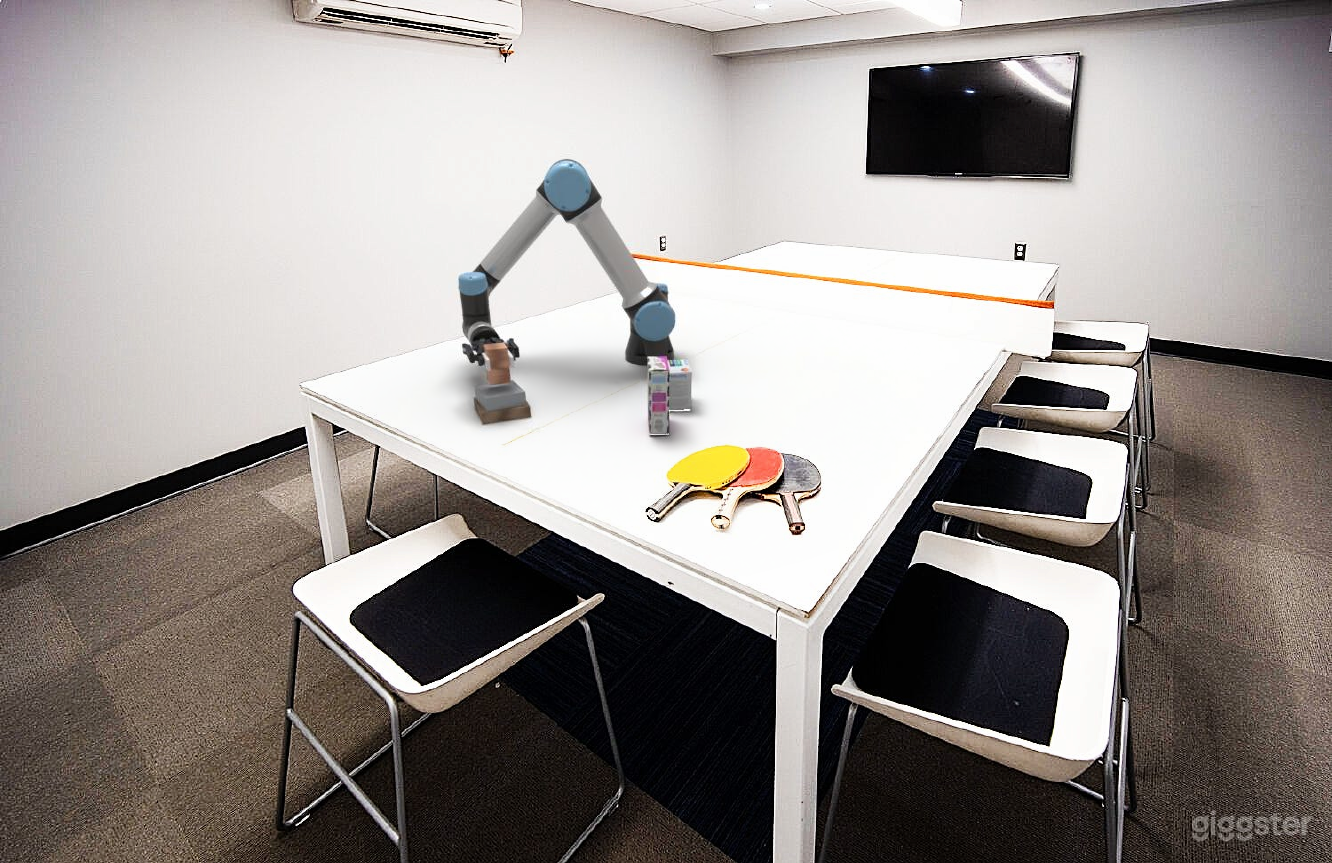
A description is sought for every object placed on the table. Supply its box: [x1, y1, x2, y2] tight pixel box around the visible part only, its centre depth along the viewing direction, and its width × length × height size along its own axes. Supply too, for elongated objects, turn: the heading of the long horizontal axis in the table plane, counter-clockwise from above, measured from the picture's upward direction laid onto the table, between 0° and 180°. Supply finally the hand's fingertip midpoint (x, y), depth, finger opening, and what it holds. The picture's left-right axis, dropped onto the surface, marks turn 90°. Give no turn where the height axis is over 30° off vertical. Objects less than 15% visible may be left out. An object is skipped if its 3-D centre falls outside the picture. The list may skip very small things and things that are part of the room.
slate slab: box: [474, 379, 527, 412], centre depth 184 cm, size 10×10×4 cm
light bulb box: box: [667, 358, 693, 410], centre depth 188 cm, size 11×7×11 cm, turn 5°
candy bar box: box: [647, 356, 670, 434], centre depth 173 cm, size 11×5×16 cm, turn 3°
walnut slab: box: [473, 396, 532, 425], centre depth 186 cm, size 12×12×4 cm
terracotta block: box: [483, 342, 512, 385], centre depth 181 cm, size 5×5×9 cm
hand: (500, 364), depth 176 cm, fingers closed on terracotta block, 5 cm apart
